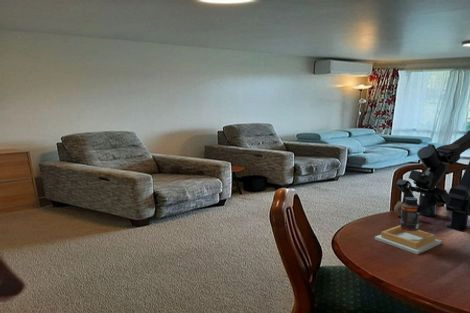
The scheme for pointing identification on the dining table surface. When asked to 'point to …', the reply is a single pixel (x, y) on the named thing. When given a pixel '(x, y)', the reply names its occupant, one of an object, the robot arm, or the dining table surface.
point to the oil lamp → (398, 208)
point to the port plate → (408, 239)
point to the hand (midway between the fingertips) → (409, 209)
